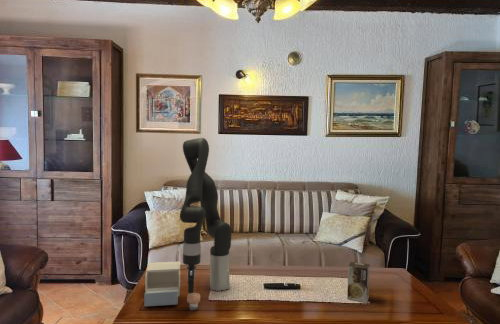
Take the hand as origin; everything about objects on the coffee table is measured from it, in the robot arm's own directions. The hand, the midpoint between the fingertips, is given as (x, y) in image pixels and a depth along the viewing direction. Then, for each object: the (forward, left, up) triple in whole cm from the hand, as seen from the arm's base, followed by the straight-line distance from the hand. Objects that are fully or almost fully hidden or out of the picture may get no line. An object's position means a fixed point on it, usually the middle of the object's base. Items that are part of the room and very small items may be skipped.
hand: (191, 288), depth 168 cm
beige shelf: (+13, -21, -9) cm, 26 cm away
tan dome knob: (-1, 0, -5) cm, 5 cm away
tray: (+13, -9, -8) cm, 17 cm away
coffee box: (-77, 0, -9) cm, 78 cm away
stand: (-1, 0, -9) cm, 9 cm away
